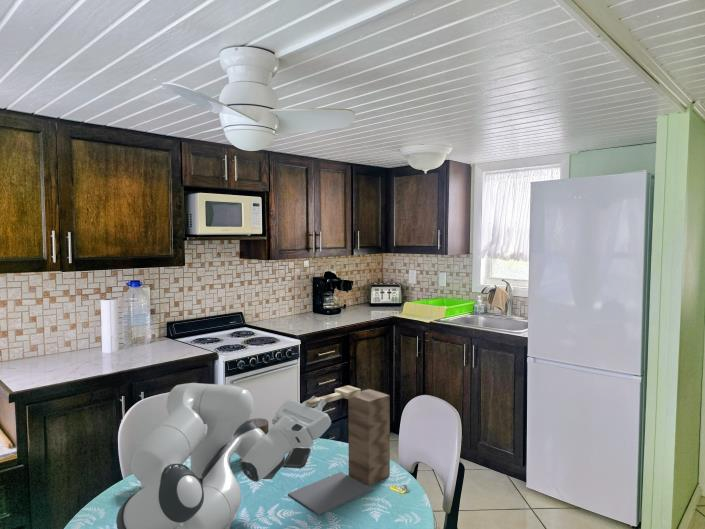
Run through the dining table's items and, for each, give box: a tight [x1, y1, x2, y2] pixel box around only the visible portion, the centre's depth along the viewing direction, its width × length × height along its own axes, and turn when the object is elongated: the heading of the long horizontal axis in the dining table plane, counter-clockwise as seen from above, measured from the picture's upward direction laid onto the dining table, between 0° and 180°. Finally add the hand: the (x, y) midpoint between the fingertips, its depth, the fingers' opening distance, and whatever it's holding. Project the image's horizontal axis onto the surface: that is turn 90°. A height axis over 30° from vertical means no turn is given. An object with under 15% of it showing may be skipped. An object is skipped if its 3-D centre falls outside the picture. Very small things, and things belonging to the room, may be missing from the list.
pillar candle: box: [247, 417, 270, 434], centre depth 178 cm, size 10×10×15 cm
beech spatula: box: [306, 384, 362, 408], centre depth 153 cm, size 19×6×2 cm, turn 133°
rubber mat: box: [287, 471, 374, 516], centre depth 153 cm, size 22×16×1 cm
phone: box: [283, 447, 312, 468], centre depth 179 cm, size 8×1×15 cm
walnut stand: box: [347, 388, 391, 487], centre depth 164 cm, size 10×10×28 cm
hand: (320, 399), depth 150 cm, fingers closed on beech spatula, 2 cm apart
